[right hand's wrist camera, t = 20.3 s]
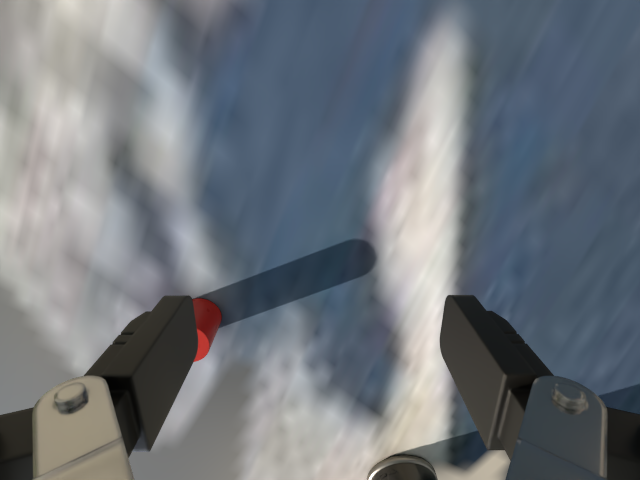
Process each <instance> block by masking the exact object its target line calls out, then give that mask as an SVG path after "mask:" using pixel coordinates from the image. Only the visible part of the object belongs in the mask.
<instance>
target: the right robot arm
mask: <svg viewBox="0 0 640 480" xmlns="http://www.w3.org/2000/svg"><path fill="white" fill-rule="evenodd" d="M440 348H441V353H442V356H443V359H444V361H445V363H446V365H447V367H448V369H449V371H450V373H451V375H452V377H453V379H454V382H455V384H456V386H457V388H458V390H459V392H460V394H461V396H462V398H463V400H464V402H465V404H466V406H467V409H468V411H469V413H470V415H471V417H472V419H473V421H474V423H475V425H476V427H477V429H478V431H479V433H480V436H481V438H482V440H483V442H484V444H485V446H486V448H487V450H505V451H506V453H507V455H508V457H509V459H510V460H511V462H510V466H509V469H508V473H507V477H506V480H640V415H639V414H635V413H631V412H626V411H622V410H617V409H613V408H609V407H606V406H605V404H604V403H603V401H602V400H601V399H600V398H599V397H598V396H597V395H596V394H595V393H594V392H592V391H591V390H589V389H588V388H586V387H585V386H583V385H581V384H579V383H577V382H575V381H572V380H570V379H567V378H563V377H559V376H554V375H553V374H552V373H551V372H550V370H549V369H548V368H547V367H546V366H545V365H544V363H543V362H542V361H541V360H540V359H539V358H538V356H537V355H536V354H535V353H534V352H533V351H532V349H531V348H530V347H529V346H528V345H527V344H525V341H524V340H523V339H522V338H521V337H520V335H519V334H517V333H516V331H515V330H514V328H513V327H512V326H511V325H510V324H509V323H508V321H507V320H505V319H504V318H502V317H500V316H499V315H497V314H496V313H494V312H493V311H486V310H485V308H484V307H483V306H482V305H481V303H480V302H479V301H478V300H477V298H476V297H475V296H473V295H448V296H447V298H446V300H445V306H444V313H443V320H442V327H441V333H440ZM197 350H198V333H197V326H196V319H195V313H194V306H193V301H192V298H191V297H190V296H164V297H163V298H162V299H161V300H160V301H159V303H158V304H157V305H156V306H155V308H154V309H153V310H152V311H151V312H145V313H143V314H141V315H140V316H138V317H137V318H135V319H134V320H132V321H131V322H130V323H129V324H128V325H127V326H126V327H125V329H124V330H123V331H122V332H121V335H119V336H118V337H117V338H116V339H115V340H114V341H113V345H110V346H109V347H108V348H107V349H106V351H105V352H104V353H103V354H102V355H101V356H100V358H99V359H98V360H97V361H96V362H95V363H94V365H93V366H92V367H91V368H90V369H89V370H88V372H87V373H86V374H85V375H84V376H81V377H77V378H73V379H70V380H68V381H65V382H63V383H61V384H59V385H57V386H55V387H54V388H52V389H51V390H49V391H48V392H46V393H45V394H44V395H43V396H42V397H41V398H40V399H39V400H38V401H37V403H36V404H35V406H34V407H33V408H29V409H25V410H21V411H16V412H12V413H8V414H3V415H0V480H134V477H133V473H132V469H131V466H130V462H129V459H128V458H129V456H130V454H131V452H132V451H150V450H151V448H152V446H153V444H154V442H155V440H156V438H157V436H158V434H159V432H160V429H161V427H162V425H163V423H164V421H165V419H166V417H167V415H168V413H169V411H170V409H171V407H172V405H173V403H174V401H175V399H176V397H177V395H178V393H179V390H180V388H181V386H182V384H183V382H184V380H185V378H186V376H187V374H188V372H189V370H190V368H191V366H192V364H193V362H194V360H195V357H196V355H197Z"/></svg>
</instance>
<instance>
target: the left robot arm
mask: <svg viewBox="0 0 640 480" xmlns="http://www.w3.org/2000/svg"><path fill="white" fill-rule="evenodd" d="M367 480H437V476H436V473H435V470H434V468H433V467H432V465H431V464H430V463H428V462H427V461H425V460H424V459H421V458H419V457H415V456H408V455H402V456H394V457H390V458H387V459H385V460H383V461H381V462H379V463H378V464H376V465H375V466H374V467H373V468H372V469H371V470H370V472H369V474H368V476H367Z"/></svg>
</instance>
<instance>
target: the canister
mask: <svg viewBox="0 0 640 480" xmlns="http://www.w3.org/2000/svg"><path fill="white" fill-rule="evenodd" d="M192 301H193V306H194V313H195V319H196V326H197V333H198V350H197V355H196V357H195V360H194V362H195V361H199V360H201V359H202V358H204V357H205V356H206V355H207V353H208V352H209V349H210V347H211V344H212V342H213V340H214V337H215V335H216V333H217V330H218V328H219V325H220V323H221V319H222V316H221V312H220V310H219V308H218V307H217V306H216V305H215V304H214V303H213V302H211V301H209V300H206V299H201V298H197V299H192Z"/></svg>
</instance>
